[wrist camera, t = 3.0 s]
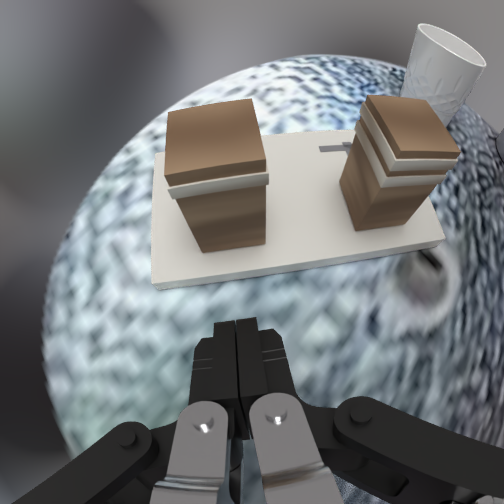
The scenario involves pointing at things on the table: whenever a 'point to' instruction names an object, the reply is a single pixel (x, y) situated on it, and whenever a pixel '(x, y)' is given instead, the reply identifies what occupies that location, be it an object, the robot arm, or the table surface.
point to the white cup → (441, 71)
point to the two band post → (394, 160)
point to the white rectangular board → (285, 220)
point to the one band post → (218, 173)
